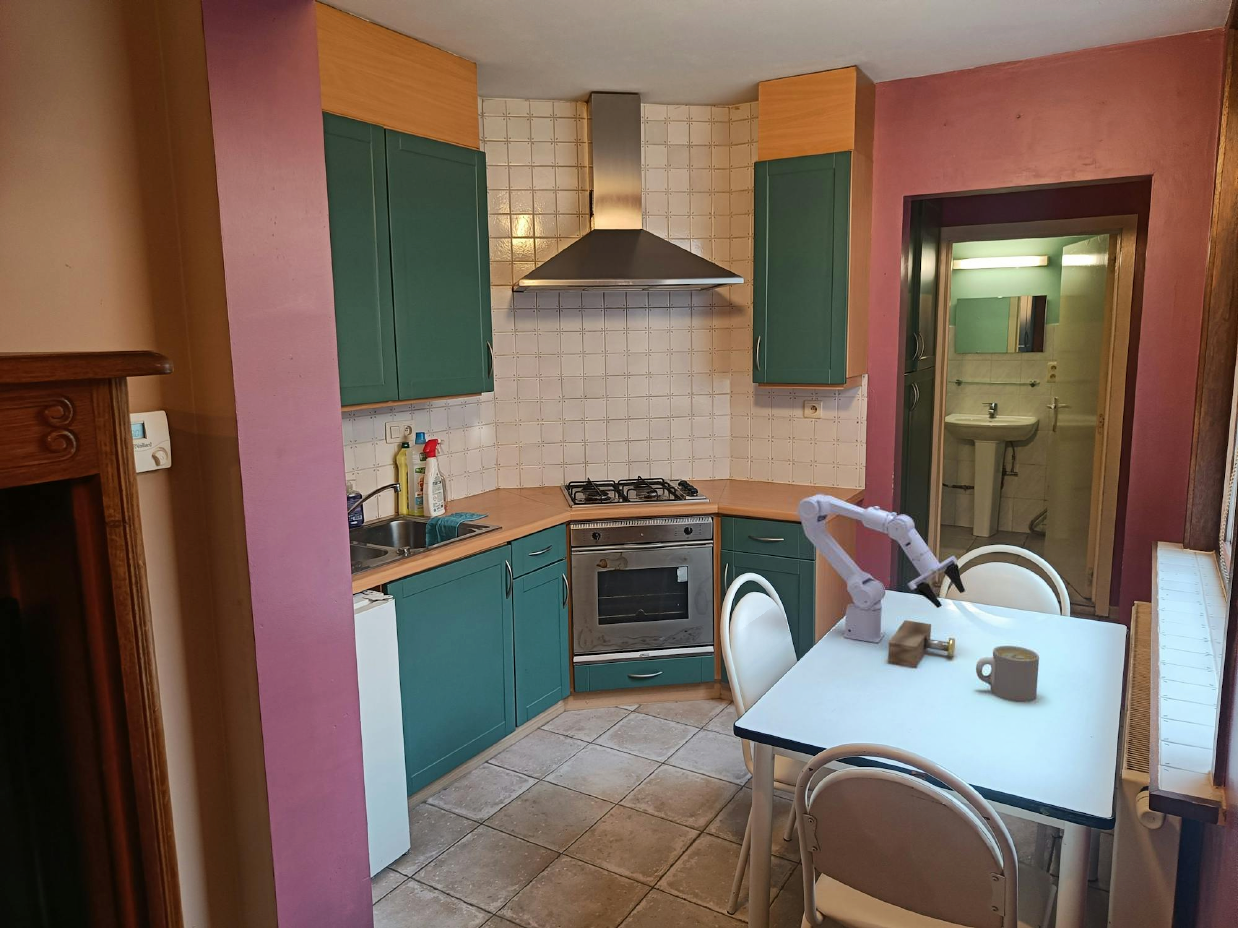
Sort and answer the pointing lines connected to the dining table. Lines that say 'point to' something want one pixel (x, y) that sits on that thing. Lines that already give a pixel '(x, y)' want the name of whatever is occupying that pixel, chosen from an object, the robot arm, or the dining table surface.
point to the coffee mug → (1011, 673)
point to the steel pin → (941, 645)
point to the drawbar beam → (908, 644)
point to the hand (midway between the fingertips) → (951, 599)
